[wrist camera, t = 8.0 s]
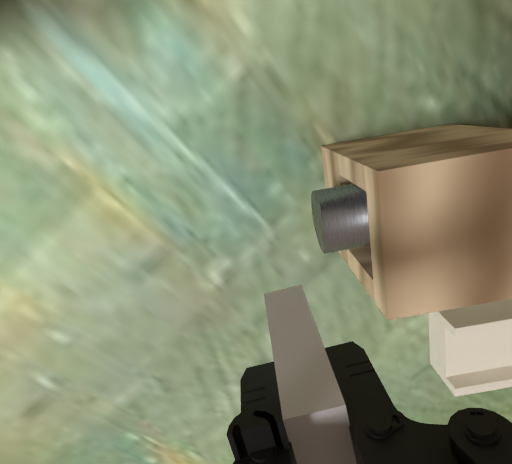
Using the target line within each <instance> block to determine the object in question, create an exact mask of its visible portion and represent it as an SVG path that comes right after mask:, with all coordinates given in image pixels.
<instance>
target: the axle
mask: <svg viewBox="0 0 512 464" xmlns="http://www.w3.org/2000/svg"><path fill="white" fill-rule="evenodd" d="M311 204H312V214H313V221H314V226H315V231H316V235H317V239H318V242H319V245H320V247H321V250H322V252H323V253H324V254H325V253H331V252H336V251H342V250H347V249H352V248H358V247H363V246H369V245H370V232H369V219H368V207H367V194H366V191H364V190H363V189H361V188H360V187H358V186H357V185H355V184H348V185H343V186H337V187H332V188H326V189H321V190H316V191H313V192H312V195H311Z"/></svg>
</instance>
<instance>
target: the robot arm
mask: <svg viewBox="0 0 512 464" xmlns="http://www.w3.org/2000/svg"><path fill="white" fill-rule="evenodd" d="M264 297H265V304H266V310H267V317H268V324H269V331H270V337H271V344H272V351H273V357H274V362H270V363H266V364H262V365H258V366H254V367H249V368H246V370H245V372H244V374H243V376H242V378H241V413H240V414H239V415H238V416H236V417H235V418H234V419H233V421H232V422H231V424H230V425H229V428H228V431H227V437H228V440H229V443H230V446H231V449H232V452H233V455H234V458H235V461H234V463H233V464H512V423H511V422H510V421H509V420H507V419H506V418H504V417H503V416H501V415H499V414H497V413H496V412H493V411H490V410H486V409H483V408H467V409H463V410H459V411H457V412H456V413H455V414H454V415H452V416H451V417H450V420H449V422H448V425H438V424H425V423H419V422H416V421H413V420H410V419H408V418H407V417H405V416H404V415H403V414H402V413H401V412H399V411H397V409H396V408H395V407H394V405H393V403H392V401H391V399H390V398H389V396H388V394H387V392H386V390H385V388H384V386H383V384H382V383H381V381H380V379H379V377H378V375H377V373H376V371H375V370H374V368H373V366H372V364H371V362H370V360H369V358H368V356H367V354H366V353H365V351H364V349H363V348H361V347H360V346H358V345H357V344H355V343H354V342H353V341H352V342H348V343H344V344H340V345H336V346H331V347H327V348H324V345H323V343H322V340H321V337H320V334H319V332H318V329H317V326H316V324H315V321H314V318H313V316H312V313H311V310H310V308H309V305H308V302H307V299H306V297H305V294H304V291H303V289H302V286H301V285H298V286H294V287H290V288H286V289H282V290H278V291H274V292H270V293H266V294H264Z"/></svg>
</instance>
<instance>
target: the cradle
mask: <svg viewBox="0 0 512 464" xmlns="http://www.w3.org/2000/svg"><path fill="white" fill-rule="evenodd" d="M429 338H430V364H431V365H432V367H433V368H434V369H435V371H436V372H437V373H438V374H439V376H440V377H441V378H442V380H443V381H444V382H445V384H446V385H447V386H448V388H449V389H450V390H451V391H452V393H453V394H454V395H455V397H456V396H462V395H467V394H473V393H479V392H485V391H490V390H496V389H502V388H508V387H512V299H507V300H501V301H495V302H490V303H484V304H478V305H472V306H467V307H461V308H455V309H449V310H444V311H438V312H432V313H429Z"/></svg>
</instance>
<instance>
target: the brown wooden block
mask: <svg viewBox="0 0 512 464" xmlns="http://www.w3.org/2000/svg"><path fill="white" fill-rule="evenodd" d="M321 150H322V159H323V168H324V177H325V186H326V188H332V187H337V186H343V185H348V184H355V185H357V186H358V187H360V188H361V189H363V190H364V191H366V194H367V207H368V219H369V232H370V245H369V246H363V247H358V248H352V249H347V250H342V251H338V252H339V253H340V255H341V256H342V257H343V259H344V260H345V262H346V263H347V264H348V266H349V267H350V268H351V270H352V271H353V273H354V274H355V275H356V277H357V278H358V279H359V281H360V282H361V284H362V285H363V286H364V288H365V289H366V291H367V292H368V293H369V295H370V296H371V297H372V299H373V300H374V302H375V303H376V304H377V306H378V307H379V309H380V310H381V311H382V313H383V314H384V315H385V317H386V318H387V320H392V319H398V318H404V317H409V316H415V315H421V314H427V313H432V312H438V311H444V310H449V309H455V308H461V307H467V306H472V305H478V304H484V303H490V302H495V301H501V300H507V299H512V129H509V128H496V127H483V126H470V125H457V124H445V125H439V126H434V127H428V128H422V129H416V130H411V131H405V132H399V133H393V134H388V135H382V136H376V137H370V138H365V139H359V140H353V141H347V142H342V143H336V144H330V145H324V146H321Z"/></svg>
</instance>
